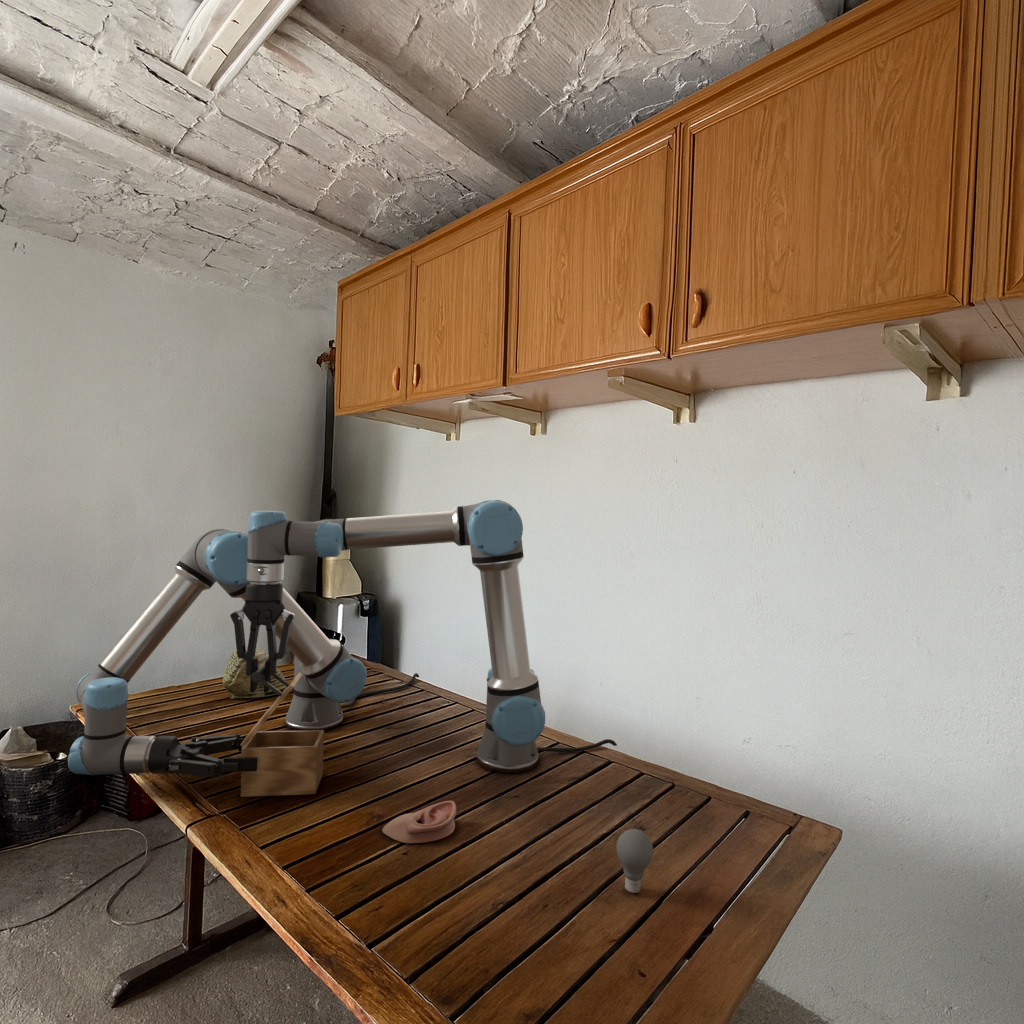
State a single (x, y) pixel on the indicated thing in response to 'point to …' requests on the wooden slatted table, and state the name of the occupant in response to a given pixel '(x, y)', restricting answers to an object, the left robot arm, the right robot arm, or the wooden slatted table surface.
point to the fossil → (247, 677)
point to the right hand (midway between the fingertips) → (260, 690)
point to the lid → (259, 676)
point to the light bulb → (634, 857)
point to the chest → (284, 763)
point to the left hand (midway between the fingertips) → (263, 753)
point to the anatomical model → (423, 824)
